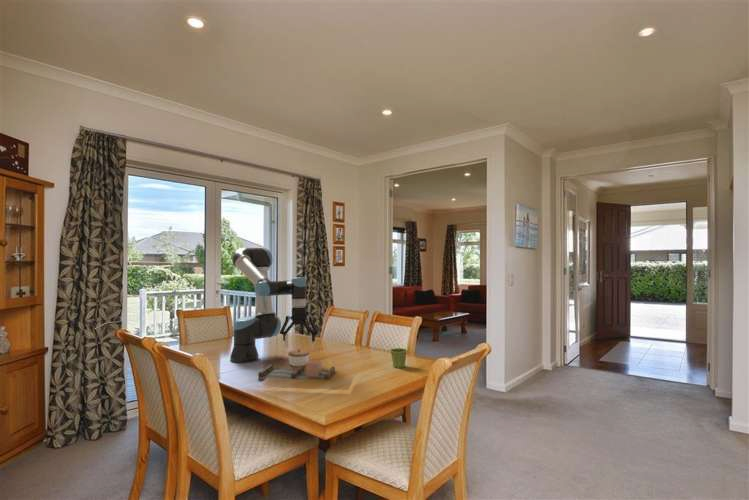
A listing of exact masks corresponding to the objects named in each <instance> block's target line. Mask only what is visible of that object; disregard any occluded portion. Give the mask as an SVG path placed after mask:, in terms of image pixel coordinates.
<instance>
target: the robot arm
mask: <svg viewBox="0 0 749 500" xmlns="http://www.w3.org/2000/svg"><path fill="white" fill-rule="evenodd" d="M272 255H273V254H272V252H271V251H270V250H269V249H268V248H264V247H241V248H238V249H237V250H236V251H235V252H234V253H233V254H232V258H231V261H232V265H233V266H234V268H235V269H236V270H238V271H241V273H243V275H245V277H246V278H247V279H248V280H249V281H250V283H252V285H253V286H254V294H255V303H256V311H257V313H256V314H255V316H253V315H252V316H242V317H240V318H237V319H235V321H234V322H233V348H232V351H231V354H230V359H229V360H230V362H232V363H241V364H242V363H250V362H254V361H258V360H259V352H258V349H257V346H256V340H259V339H266V338H267V339H268V338H273V337H277V336H278V335H279V334H280V335H282V336H283V337H282V340H283V342H284V347H285V349H287V348H288V347H289V334H288V333H289V332H290V331H291V329H292V328H293V326H294V325H295V326H296V325H298V326H299V325H300V326H301V325H303V326H304V327H305V329H307V330H308V332H309V333H310V334H311V335H310V336H309V337H310V338H309V339H310V349H313V348H314V342H315V341H316V335H318V334H319V330H318V327H317V326H316V324H315V321H314V320H313V319H314V318H313V315H309V316H308V315H307V307H306V306H307V279H306V278H305V277H304V276H303V277H301V276H298V277H292V278H291V280H273V281H271V280H270V279H269V273H268V271H269V270H270V267H271V266H272V265H273V256H272ZM287 295H288V296H290V295H291V316H290V315H286V316H285V320H284V323H283V325H282V321H281V318H280V317H279V316H278V315H276V314H277V313H276V312H275V311H274V310H273V305H272V296H287ZM290 320H291V321H292V322H291V323H290V324H289V326H288V323H289V321H290ZM307 320H308V321H309V324H310V325H309V324H308V322H307ZM287 326H288V327H287Z"/></svg>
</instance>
